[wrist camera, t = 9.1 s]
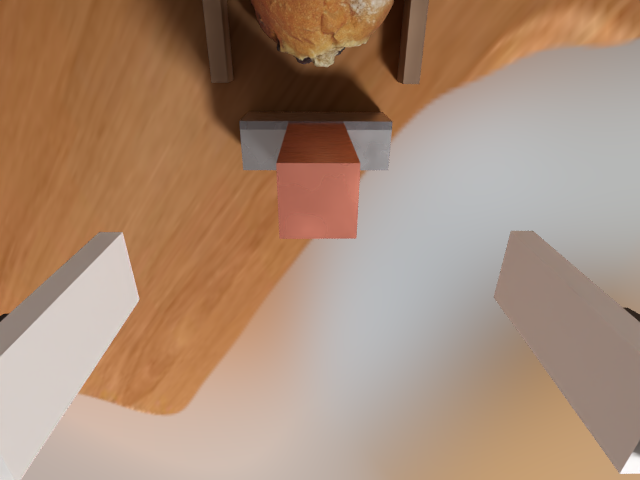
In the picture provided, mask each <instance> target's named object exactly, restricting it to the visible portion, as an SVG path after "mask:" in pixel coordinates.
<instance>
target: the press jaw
mask: <svg viewBox="0 0 640 480" xmlns="http://www.w3.org/2000/svg"><path fill="white" fill-rule="evenodd" d="M239 124H240V135H241V147H242V159H243V170H277V191H278V213H279V236H280V239H303V238H356V235H357V217H358V199H359V181H360V170H388V166H389V154H390V143H391V132H392V121H391V120H390V119H389V118H388V117H387V116H386V115H385V114H384V113H383V112H258V111H248V112H247V113H246V114H245V115H244V117H243V118H242V119H241V120H240V121H239Z"/></svg>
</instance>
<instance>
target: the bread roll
mask: <svg viewBox="0 0 640 480" xmlns="http://www.w3.org/2000/svg"><path fill="white" fill-rule="evenodd" d="M393 3H394V0H251V5H253V6H254V8H255V13H256V18H257V20H258V22H259V25H260V27H261V28H262V30H263V31H264V32H265V33H266V34H267V35H268V36H269V37H270V38H271V39H273V40H274V41H275V42H276V43H277V50H278V51H280V52H285V53H289V54H292V55H293V56H294V57H296V59H297V61H298V62H299V63H301V64H306V63H310V62H313V63H314V65H315V66H317V67H319V66H321V67H322V66H323V67H329V66H330V65H332V64H333V63H334V58H335V56H336V55H339V54H341V52H342V51H343V50H344V49H345V47H353V46H361V44H366V42H367V41H368V39H369V38H370V36H371V34H372V33H374V32H375V31H376V30H377V28H378V27H379V26H380V25H381V24H382V22H383V21H384V20H385V18H386V16H387V15H388V13H389V11H390V9H391V8H392V5H393Z"/></svg>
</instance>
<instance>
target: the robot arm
mask: <svg viewBox="0 0 640 480" xmlns="http://www.w3.org/2000/svg"><path fill="white" fill-rule="evenodd" d="M494 298H495V300H496V301H497V303H498V304H499V305H500V307H501V308H502V309H503V311H504V312H505V314H506V315H507V317H508V318H509V319H510V321H511V322H512V324H513V325H514V326H515V328H516V329H517V331H518V332H519V333H520V335H521V336H522V338H523V339H524V340H525V342H526V343H527V345H528V346H529V347H530V349H531V350H532V352H533V353H534V354H535V356H536V357H537V358H538V360H539V361H540V363H541V364H542V365H543V367H544V368H545V370H546V371H547V373H548V374H549V375H550V377H551V378H552V380H553V381H554V382H555V383H556V385H557V386H558V388H559V389H560V391H561V392H562V394H563V395H564V396H565V398H566V399H567V400H568V402H569V403H570V405H571V406H572V408H573V409H574V410H575V412H576V413H577V415H578V416H579V417H580V419H581V420H582V422H583V423H584V424H585V426H586V427H587V428H588V430H589V431H590V433H591V434H592V435H593V436H594V438H595V440H596V441H597V443H598V444H599V445H600V447H601V448H602V449H603V451H604V452H605V454H606V455H607V457H608V458H609V459H610V461H611V462H612V464H613V465H614V466H615V468H616V469H617V470H618V472H619V473H620V474H625V473H626V474H627V473H640V314H638V313H636V312H634V311H632V310H631V309H629V308H623V307H621V306H620V305H619V304H618V303H617V302H615V301H614V300H613V299H612V298H611V297H610V296H609V295H607V294H606V293H605V292H604V291H603V290H601V289H600V288H599V287H598V286H597V285H596V284H594V283H593V282H592V281H591V280H590V279H589V278H587V277H586V276H585V275H584V274H583V273H582V272H580V271H579V270H578V269H577V268H576V267H575V266H573V265H572V264H571V263H570V262H569V261H568V260H566V259H565V258H564V257H563V256H562V255H560V254H559V253H558V252H557V251H556V250H555V249H554V248H552V247H551V246H550V245H549V244H548V243H546V242H545V241H544V240H543V239H542V238H541V237H539V236H538V235H537V234H536V233H535V232H534V231H511V232H510V236H509V240H508V244H507V248H506V252H505V256H504V259H503V263H502V267H501V271H500V275H499V279H498V283H497V287H496V290H495V295H494ZM138 301H139V296H138V292H137V288H136V284H135V280H134V276H133V272H132V268H131V264H130V260H129V256H128V252H127V248H126V244H125V240H124V236H123V232H99V233H98V234H97V235H96V236H95V237H93V238H92V239H91V240H90V241H89V242H88V243H87V244H86V245H85V246H84V247H82V248H81V249H80V250H79V251H78V252H77V253H76V254H75V255H74V256H73V257H71V258H70V259H69V260H68V261H67V262H66V263H65V264H64V265H63V266H61V267H60V268H59V269H58V270H57V271H56V272H55V273H54V274H53V275H52V276H50V277H49V278H48V279H47V280H46V281H45V282H44V283H43V284H42V285H41V286H39V287H38V288H37V289H36V290H35V291H34V292H33V293H32V294H31V295H30V296H28V297H27V298H26V299H25V300H24V301H23V302H22V303H21V304H20V305H18V306H17V307H16V308H15V309H14V310H13V311H12V312H11V313H10V314H3V315H1V316H0V480H21V479H22V477H23V475H24V474H25V472H26V471H27V469H28V468H29V466H30V465H31V463H32V462H33V460H34V459H35V457H36V456H37V454H38V453H39V451H40V450H41V448H42V447H43V445H44V444H45V442H46V441H47V439H48V438H49V436H50V434H51V433H52V432H53V430H54V428H55V427H56V426H57V424H58V422H59V421H60V419H61V418H62V416H63V415H64V413H65V412H66V410H67V409H68V407H69V406H70V404H71V403H72V401H73V400H74V398H75V396H76V395H77V394H78V392H79V391H80V389H81V388H82V386H83V385H84V383H85V382H86V380H87V379H88V377H89V376H90V374H91V372H92V371H93V369H94V368H95V366H96V365H97V363H98V362H99V360H100V359H101V357H102V356H103V354H104V353H105V351H106V350H107V348H108V347H109V345H110V344H111V342H112V341H113V339H114V338H115V336H116V335H117V333H118V332H119V330H120V329H121V327H122V326H123V324H124V322H125V321H126V319H127V318H128V316H129V315H130V313H131V312H132V310H133V309H134V307H135V306H136V304H137V303H138Z"/></svg>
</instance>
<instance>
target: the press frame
mask: <svg viewBox="0 0 640 480" xmlns="http://www.w3.org/2000/svg"><path fill="white" fill-rule="evenodd" d="M202 1H203V10H204V19H205V28H206V37H207V46H208V55H209V64H210V73H211V82H212V83H229V82H231V81H233V80H234V77H233V66H232V54H231V43H230V31H229V20H228V8H227V0H202ZM428 3H429V0H404V7H403V19H402V30H401V41H400V52H399V63H398V74H397V81H398V82H400V83H402V84H419V81H420V73H421V64H422V55H423V47H424V38H425V29H426V20H427V12H428Z"/></svg>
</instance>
